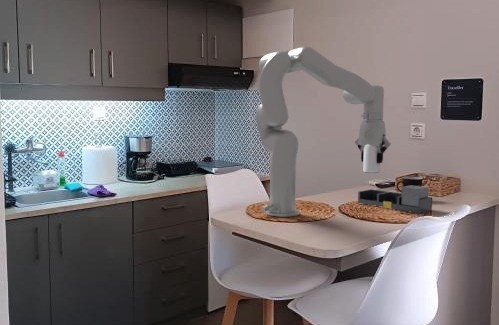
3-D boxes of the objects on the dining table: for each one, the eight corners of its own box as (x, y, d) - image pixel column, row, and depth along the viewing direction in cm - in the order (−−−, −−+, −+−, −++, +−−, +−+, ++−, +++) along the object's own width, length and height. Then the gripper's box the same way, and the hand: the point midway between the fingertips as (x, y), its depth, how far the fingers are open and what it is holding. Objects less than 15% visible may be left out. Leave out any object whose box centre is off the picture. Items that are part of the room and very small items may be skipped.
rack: (419, 213, 190) (420, 189, 189) (357, 203, 210) (358, 182, 209) (431, 210, 196) (432, 187, 195) (370, 201, 216) (371, 180, 215)
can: (375, 173, 195) (376, 142, 194) (360, 172, 199) (361, 142, 198) (382, 172, 200) (383, 142, 199) (367, 170, 204) (368, 141, 203)
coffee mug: (419, 199, 223) (420, 176, 222) (424, 202, 214) (425, 179, 213) (392, 198, 224) (393, 176, 223) (396, 201, 215) (397, 178, 214)
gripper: (349, 116, 201) (348, 161, 203) (387, 117, 188) (386, 164, 190) (359, 116, 206) (358, 160, 208) (397, 117, 194) (396, 163, 195)
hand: (371, 161), depth 199 cm, fingers closed on can, 6 cm apart
